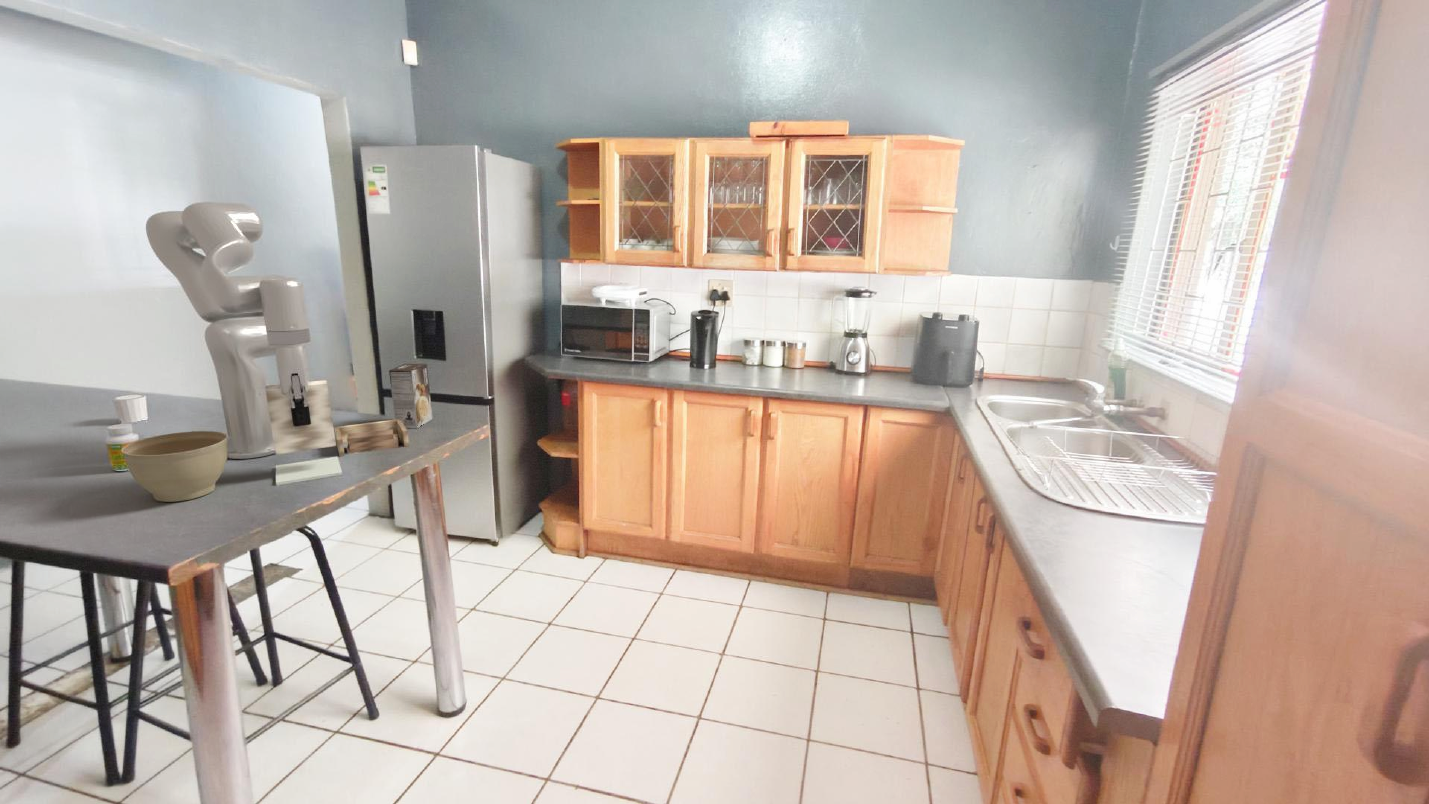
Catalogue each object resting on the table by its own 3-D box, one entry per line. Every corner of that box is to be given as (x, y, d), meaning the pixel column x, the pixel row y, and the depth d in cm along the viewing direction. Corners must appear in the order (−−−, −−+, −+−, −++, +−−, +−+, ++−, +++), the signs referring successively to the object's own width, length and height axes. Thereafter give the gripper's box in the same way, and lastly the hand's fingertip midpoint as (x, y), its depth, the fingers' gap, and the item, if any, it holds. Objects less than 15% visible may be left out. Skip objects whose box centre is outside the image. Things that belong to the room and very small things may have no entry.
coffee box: (410, 418, 184) (405, 363, 180) (433, 419, 184) (428, 363, 180) (394, 428, 175) (388, 369, 171) (418, 428, 175) (412, 370, 171)
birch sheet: (276, 454, 137) (265, 389, 134) (276, 449, 140) (265, 385, 137) (336, 445, 143) (327, 383, 139) (334, 441, 146) (326, 380, 143)
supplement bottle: (109, 474, 140) (100, 431, 137) (115, 466, 144) (106, 424, 142) (142, 470, 142) (133, 427, 140) (147, 462, 147) (138, 421, 144)
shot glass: (146, 417, 181) (141, 392, 180) (154, 421, 178) (149, 396, 176) (114, 422, 176) (108, 397, 174) (121, 427, 172) (116, 401, 170)
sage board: (276, 485, 135) (275, 482, 135) (276, 468, 145) (275, 465, 144) (342, 474, 141) (342, 472, 141) (337, 458, 151) (337, 456, 151)
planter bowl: (216, 505, 125) (206, 451, 122) (114, 514, 120) (101, 458, 118) (248, 476, 140) (240, 427, 137) (158, 482, 135) (148, 432, 133)
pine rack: (339, 456, 153) (337, 439, 152) (335, 442, 163) (333, 427, 162) (409, 445, 161) (407, 430, 160) (401, 433, 171) (399, 418, 170)
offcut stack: (347, 454, 155) (345, 439, 154) (348, 449, 159) (346, 433, 158) (398, 448, 160) (397, 433, 159) (398, 443, 164) (396, 428, 163)
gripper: (267, 334, 140) (280, 416, 145) (267, 345, 127) (281, 435, 131) (308, 331, 144) (320, 411, 149) (312, 342, 131) (324, 429, 135)
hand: (301, 421), depth 140 cm, fingers closed on birch sheet, 4 cm apart
